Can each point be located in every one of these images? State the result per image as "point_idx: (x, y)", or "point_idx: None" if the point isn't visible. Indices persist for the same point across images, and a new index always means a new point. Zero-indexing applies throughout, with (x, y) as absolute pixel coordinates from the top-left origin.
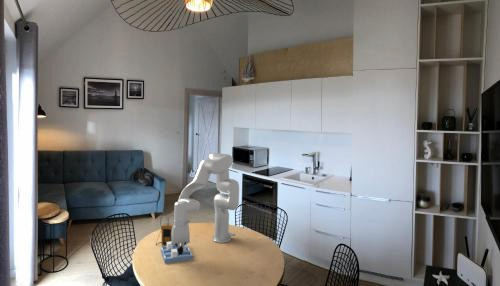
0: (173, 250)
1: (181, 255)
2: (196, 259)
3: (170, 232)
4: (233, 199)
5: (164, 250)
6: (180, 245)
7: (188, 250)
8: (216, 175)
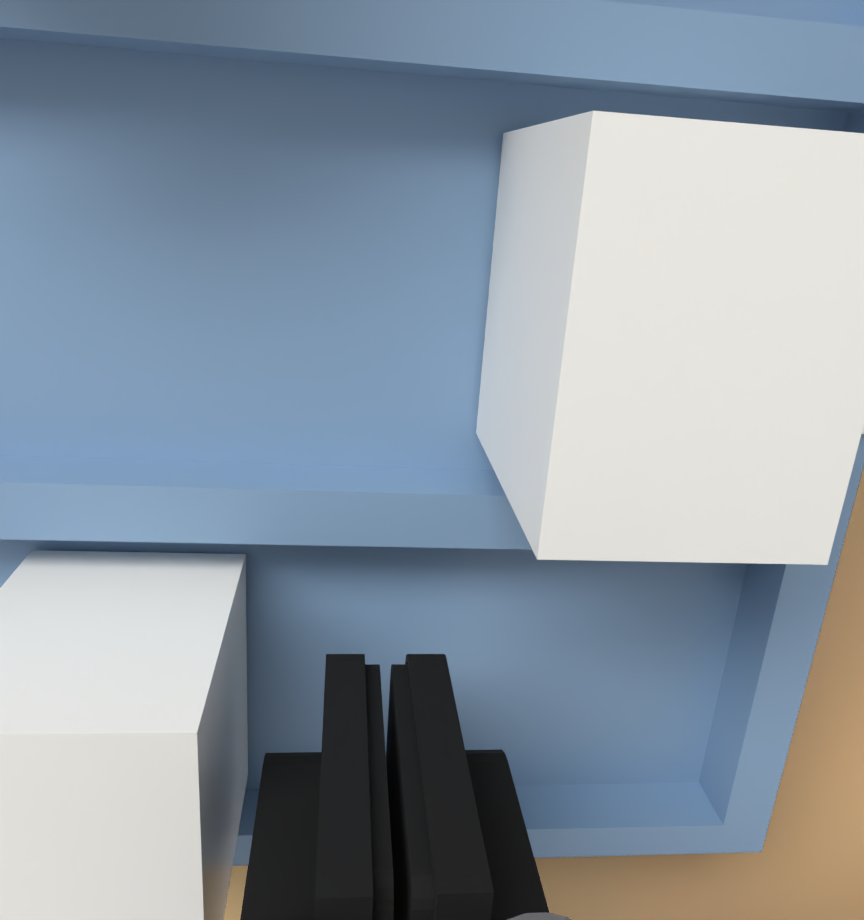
0: (16, 885)
1: (436, 609)
2: (792, 773)
3: None
4: None
5: None
6: (562, 312)
7: None
8: None
